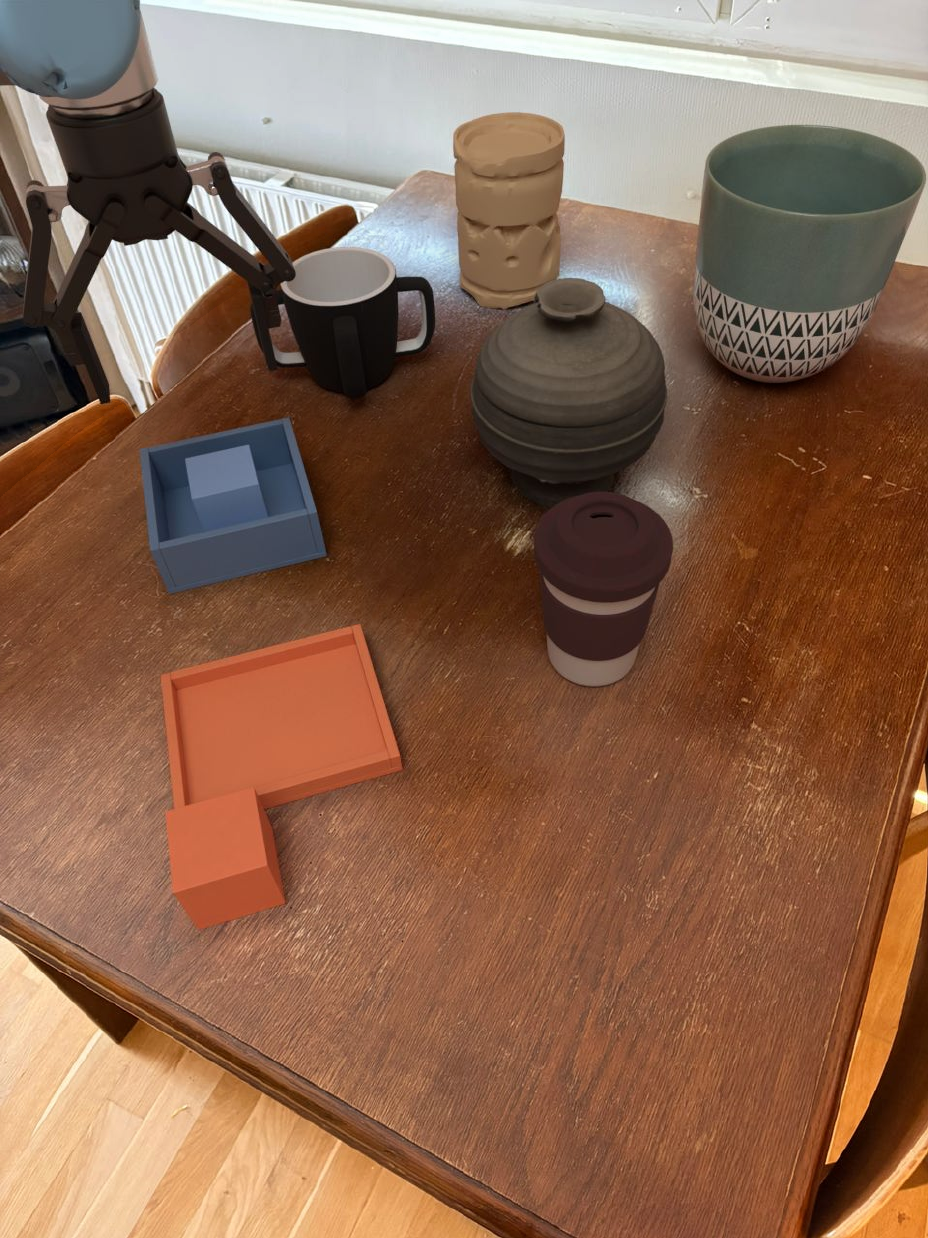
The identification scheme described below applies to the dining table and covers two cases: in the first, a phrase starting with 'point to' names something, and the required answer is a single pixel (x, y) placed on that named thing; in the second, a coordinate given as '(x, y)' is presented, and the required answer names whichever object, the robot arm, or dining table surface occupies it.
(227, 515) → the blue block
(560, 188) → the container
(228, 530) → the blue bin
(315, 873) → the dining table surface
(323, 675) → the clay tray
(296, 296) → the mug
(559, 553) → the coffee cup
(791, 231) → the planter
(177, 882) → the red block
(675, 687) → the dining table surface
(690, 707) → the dining table surface
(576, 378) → the pot
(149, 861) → the dining table surface
